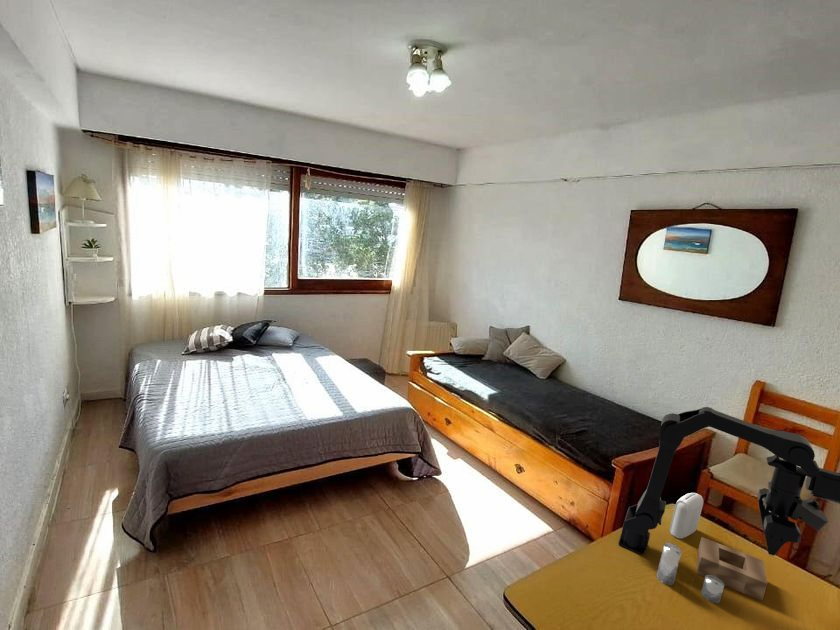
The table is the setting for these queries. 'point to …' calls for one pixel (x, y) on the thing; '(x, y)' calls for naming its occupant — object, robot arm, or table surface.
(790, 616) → the table surface
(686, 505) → the white rounded printed block
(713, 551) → the hole board
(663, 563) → the silver upright cylinder
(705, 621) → the table surface
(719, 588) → the short pin
